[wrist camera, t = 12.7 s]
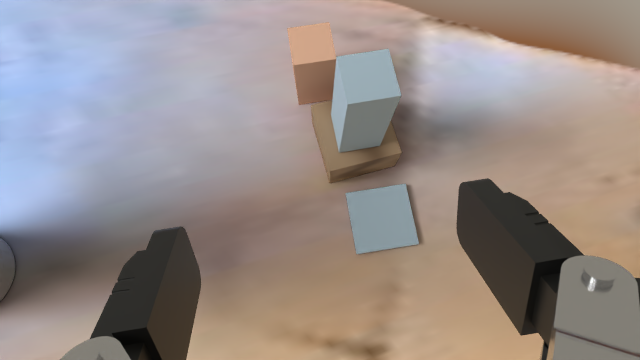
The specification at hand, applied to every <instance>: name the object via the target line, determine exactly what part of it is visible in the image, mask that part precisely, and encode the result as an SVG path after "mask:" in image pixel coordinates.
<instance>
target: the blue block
mask: <svg viewBox="0 0 640 360" xmlns="http://www.w3.org/2000/svg"><path fill="white" fill-rule="evenodd" d="M400 98H401V92H400V89H399V85H398V81H397V78H396V74H395V70H394V67H393V63H392V59H391V56H390V52H389V49H384V50H378V51H371V52H364V53H358V54H351V55H345V56H338V57H337V58H336V68H335V78H334V89H333V99H332V110H331V117H332V122H333V127H334V132H335V136H336V141H337V146H338V150H339V153H341V152H346V151H352V150H358V149H364V148H370V147H376V146H380V144H381V142H382V140H383V137H384V135H385V133H386V130H387V128H388V126H389V123H390V121H391V119H392V116H393V114H394V112H395V109H396V107H397V105H398V102H399V100H400Z"/></svg>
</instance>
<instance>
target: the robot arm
mask: <svg viewBox="0 0 640 360" xmlns="http://www.w3.org/2000/svg"><path fill="white" fill-rule="evenodd" d="M457 235H458V239H459V241H460V244H461V246H462V248H463V249H464V251H465V252H466V254H467V255H468V257H469V258H470V260H471V261H472V263H473V264H474V266H475V267H476V269H477V270H478V272H479V273H480V275H481V276H482V278H483V279H484V281H485V282H486V284H487V285H488V287H489V288H490V290H491V291H492V293H493V294H494V296H495V297H496V299H497V300H498V302H499V303H500V305H501V306H502V308H503V309H504V311H505V312H506V314H507V315H508V317H509V318H510V320H511V321H512V323H513V324H514V326H515V327H516V329H517V330H518V332H519V333H520V335H527V334H533V333H539V334H540V336H541V337H542V338H543V340H544V341H543V345H542V349H541V356H540V360H640V278H634V277H633V276H632V274H631V273H630V272H628V271H627V270H626V269H625V268H623V267H622V266H620V265H618V264H616V263H614V262H612V261H610V260H607V259H604V258H600V257H595V256H585V255H583V254H582V253H581V252H580V251H579V250H578V249H577V248H576V247H575V246H574V245H573V244H572V243H571V242H570V241H569V240H568V239H567V238H566V237H565V236H563V235H562V234H561V233H560V232H559V231H558V230H557V229H556V228H555V227H554V226H553V225H552V224H551V223H550V224H549V223H548V220H547V219H546V218H545V217H543V216H542V215H541V214H539V212H538V211H537V210H536V209H535V208H534V207H533V206H532V205H531V204H530V203H529V202H528V201H526V200H524V199H522V198H520V197H518V196H516V195H514V194H512V193H510V192H508V193H503V192H502V191H501V190H500V189H499V188H498V187H497V186H496V185H495V184H494V183H493V182H492V181H491V180H490V179H481V180H475V181H468V182H463V183H461V184H460V187H459V196H458V211H457ZM14 273H15V259H14V255H13V252H12V250H11V248H10V247H9V245H8V244H7V243H6V242H5V241H4V240H2V239H1V238H0V301H1V300H2V299H3V297H4V296H5V295H6V293H7V292H8V290H9V288H10V286H11V284H12V281H13V278H14ZM117 280H118V282H117V283H116V284H115V286H114V288H113V290H112V295H110V297H109V299H108V301H107V303H106V305H105V307H104V309H103V312H102V314H101V316H100V318H99V320H98V322H97V325H96V327H95V329H94V331H93V333H92V335H91V337H90V339H89V340H87V341H85V342H82V343H81V344H79V345H77V346H76V347H74V348H73V349H71V350H70V351H69V352H68V353H66V354H65V355H64V356H63V357H62V358H61V359H60V360H186V357H187V353H188V348H189V343H190V338H191V333H192V328H193V323H194V318H195V313H196V308H197V304H198V299H199V294H200V288H201V277H200V271H199V267H198V264H197V261H196V258H195V255H194V252H193V250H192V247H191V244H190V241H189V238H188V235H187V233H186V230H185V229H184V228H183V227H175V228H169V229H163V230H156V231H154V232H153V234H152V237H151V239H150V241H149V244H148V246H147V249H146V250H143V251H137V253H136V254H135V255H134V256H133V257H132V258H131V259H130V260H129V261H128V262H127V263H126V264H125V265H124V267H123V269H122V271H121V273H120V275H119V277H118V279H117Z"/></svg>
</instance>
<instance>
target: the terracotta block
mask: <svg viewBox="0 0 640 360" xmlns="http://www.w3.org/2000/svg"><path fill="white" fill-rule="evenodd" d="M287 30H288V36H289V43H290V50H291V57H292V63H293V70H294V77H295V83H296V89H297V96H298V102H299V105H301V104H307V103H314V102H320V101H327V100H332V99H333V89H334V78H335V68H336V55H335V50H334V45H333V39H332V34H331V29H330V24H329V22H327V23H321V24H314V25H307V26H300V27H293V28H287Z"/></svg>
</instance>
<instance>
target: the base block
mask: <svg viewBox="0 0 640 360" xmlns="http://www.w3.org/2000/svg"><path fill="white" fill-rule="evenodd" d="M331 110H332V100H330V101H326V102H322V103H318V104H314V105H311V112H312V123H313V127H314V130H315V134H316V137H317V141H318V144H319V148H320V151H321V155H322V158H323V162H324V165H325V169H326V172H327V176H328V179H329V183H333V182H336V181H340V180H344V179H348V178H351V177H355V176H359V175H363V174H367V173H370V172H374V171H378V170H382V169H385V168H389V167H393V166H395V164H396V163H397V161H398V159H399V157H400V155H401V153H402V151H401V148H400V146H399V143H398V140H397V137H396V134H395V131H394V128H393V125H392V122H391V121H390V123H389V126H388V128H387V130H386V133H385V135H384V137H383V140H382V142H381V144H380V146H376V147H370V148H364V149H358V150H352V151H346V152H341V153H339V150H338V146H337V141H336V136H335V132H334V127H333V122H332V117H331Z"/></svg>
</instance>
